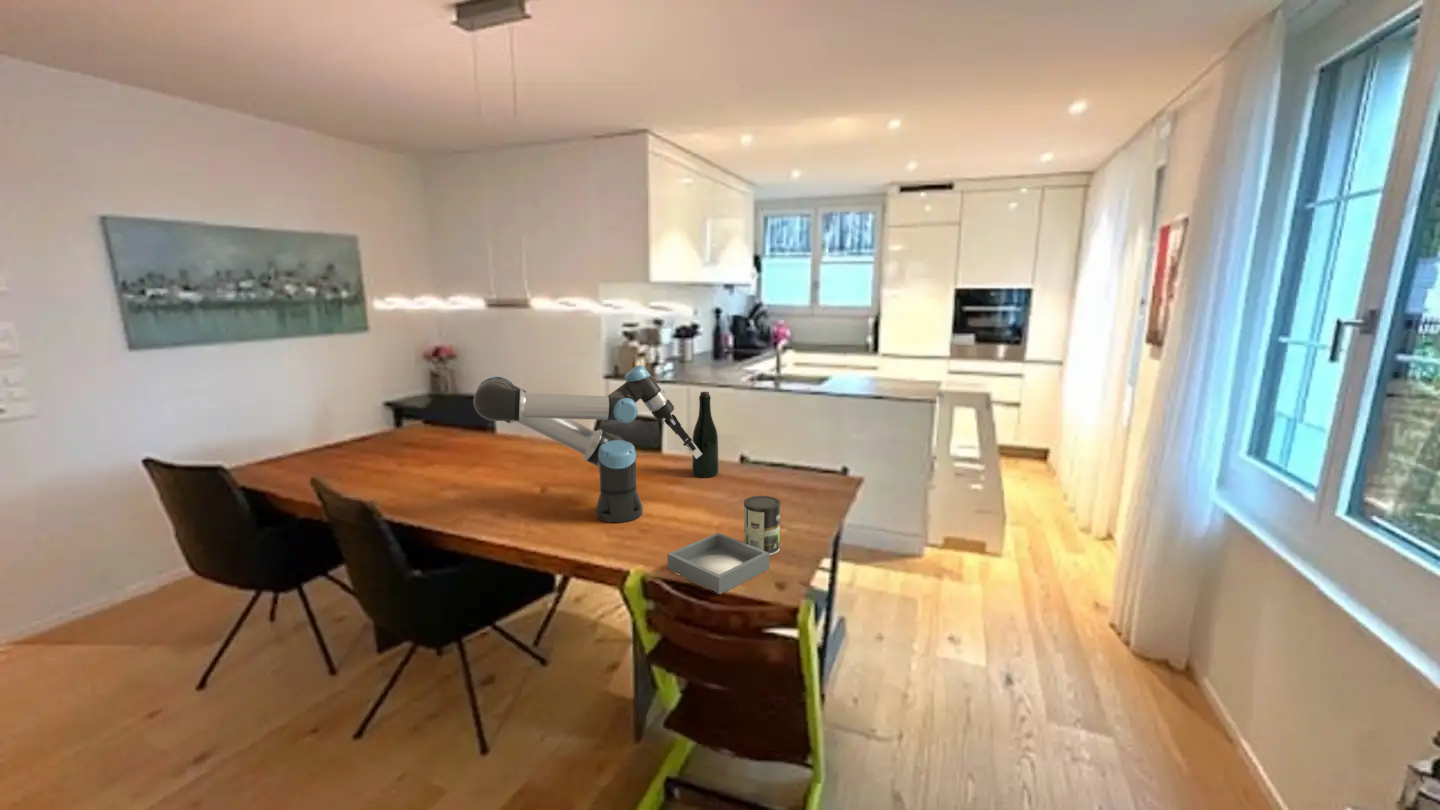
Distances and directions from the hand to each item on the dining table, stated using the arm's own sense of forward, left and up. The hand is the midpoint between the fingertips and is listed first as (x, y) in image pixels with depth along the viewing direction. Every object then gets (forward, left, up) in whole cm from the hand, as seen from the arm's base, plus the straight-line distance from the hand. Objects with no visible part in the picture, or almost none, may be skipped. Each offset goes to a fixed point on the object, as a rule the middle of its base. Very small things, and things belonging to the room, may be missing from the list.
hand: (694, 451), depth 215 cm
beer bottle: (+9, +19, -15) cm, 26 cm away
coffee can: (+7, -51, -16) cm, 54 cm away
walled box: (-9, -59, -15) cm, 62 cm away
